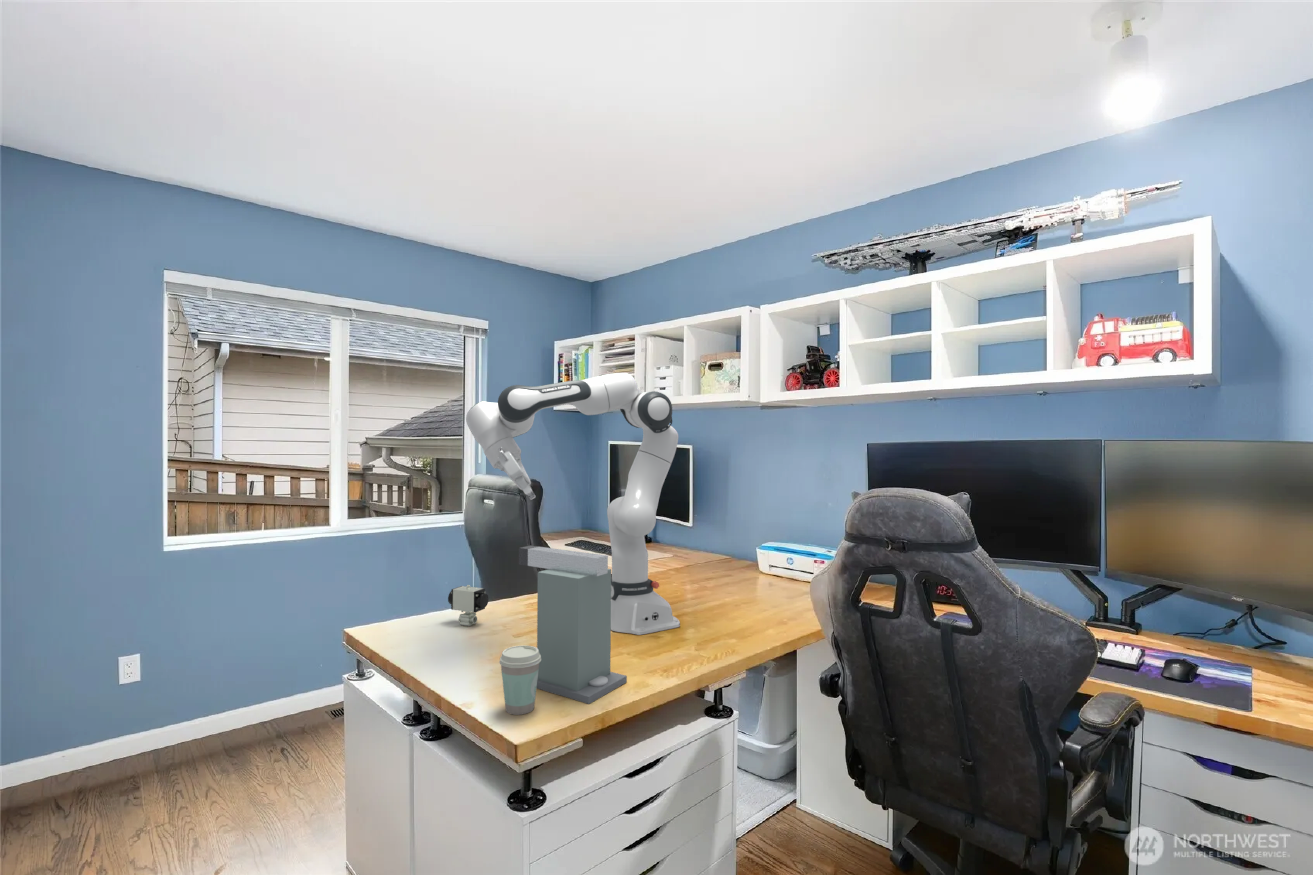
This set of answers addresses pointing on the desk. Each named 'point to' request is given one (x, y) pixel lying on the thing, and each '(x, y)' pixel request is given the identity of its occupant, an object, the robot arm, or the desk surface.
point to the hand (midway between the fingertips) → (531, 495)
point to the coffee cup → (520, 678)
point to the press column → (575, 635)
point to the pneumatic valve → (468, 602)
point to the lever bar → (564, 560)
